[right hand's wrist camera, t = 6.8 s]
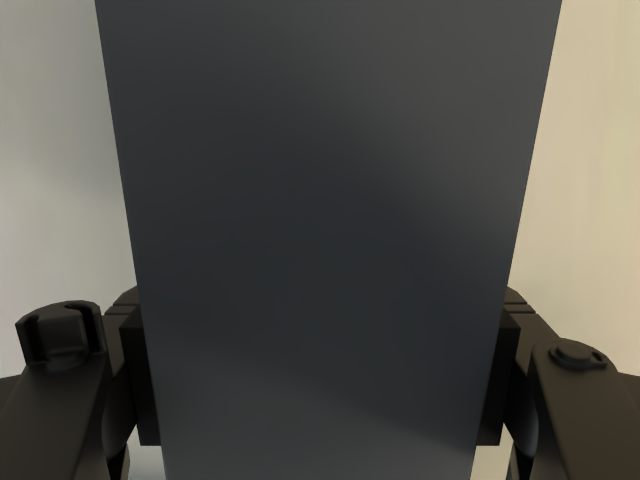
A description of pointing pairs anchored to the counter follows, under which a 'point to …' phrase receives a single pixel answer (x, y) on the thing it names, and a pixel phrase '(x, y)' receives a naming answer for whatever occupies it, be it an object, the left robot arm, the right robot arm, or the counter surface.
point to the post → (323, 222)
